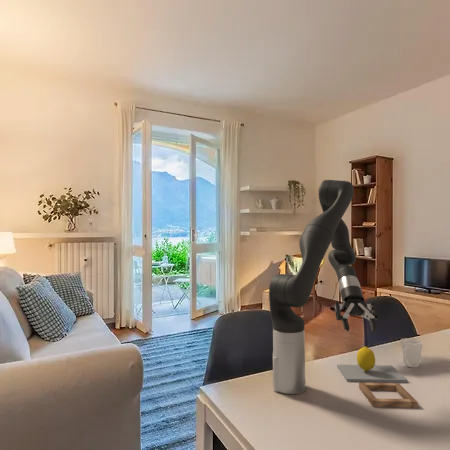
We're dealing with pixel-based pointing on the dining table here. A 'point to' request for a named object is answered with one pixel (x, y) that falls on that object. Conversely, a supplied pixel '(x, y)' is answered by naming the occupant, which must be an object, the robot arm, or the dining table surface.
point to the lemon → (366, 358)
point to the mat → (371, 374)
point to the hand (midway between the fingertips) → (360, 330)
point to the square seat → (379, 402)
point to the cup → (411, 351)
